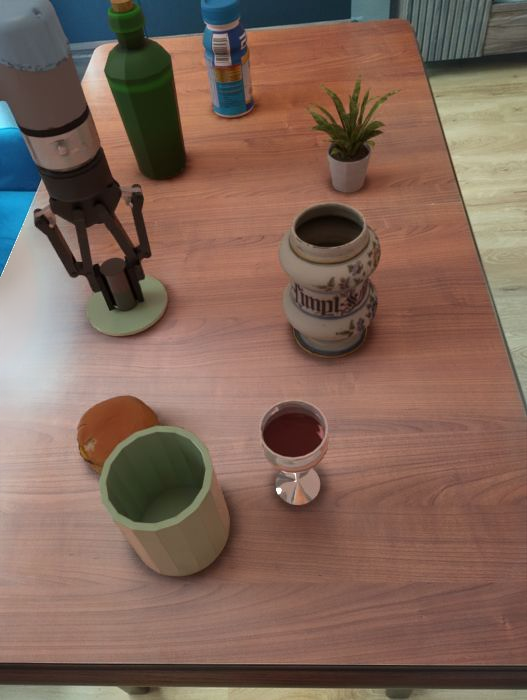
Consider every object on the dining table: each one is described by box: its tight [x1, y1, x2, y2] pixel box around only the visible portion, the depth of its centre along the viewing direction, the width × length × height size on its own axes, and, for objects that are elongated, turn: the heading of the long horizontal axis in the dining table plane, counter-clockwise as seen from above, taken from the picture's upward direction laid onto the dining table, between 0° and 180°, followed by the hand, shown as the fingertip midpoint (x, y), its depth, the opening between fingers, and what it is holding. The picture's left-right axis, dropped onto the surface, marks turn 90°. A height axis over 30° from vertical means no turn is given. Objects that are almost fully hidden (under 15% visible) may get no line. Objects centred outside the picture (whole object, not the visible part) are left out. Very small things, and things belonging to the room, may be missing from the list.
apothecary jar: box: [277, 201, 382, 359], centre depth 71 cm, size 12×12×18 cm
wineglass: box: [257, 398, 330, 506], centre depth 60 cm, size 7×7×12 cm
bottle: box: [103, 0, 187, 180], centre depth 95 cm, size 11×11×28 cm
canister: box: [98, 425, 231, 577], centre depth 58 cm, size 10×10×12 cm
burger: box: [76, 394, 163, 475], centre depth 68 cm, size 10×9×5 cm
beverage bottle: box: [200, 0, 255, 119], centre depth 108 cm, size 8×8×20 cm
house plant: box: [305, 74, 403, 193], centre depth 92 cm, size 14×14×16 cm
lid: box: [86, 257, 169, 337], centre depth 81 cm, size 12×12×8 cm
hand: (125, 299), depth 83 cm, fingers closed on lid, 3 cm apart
